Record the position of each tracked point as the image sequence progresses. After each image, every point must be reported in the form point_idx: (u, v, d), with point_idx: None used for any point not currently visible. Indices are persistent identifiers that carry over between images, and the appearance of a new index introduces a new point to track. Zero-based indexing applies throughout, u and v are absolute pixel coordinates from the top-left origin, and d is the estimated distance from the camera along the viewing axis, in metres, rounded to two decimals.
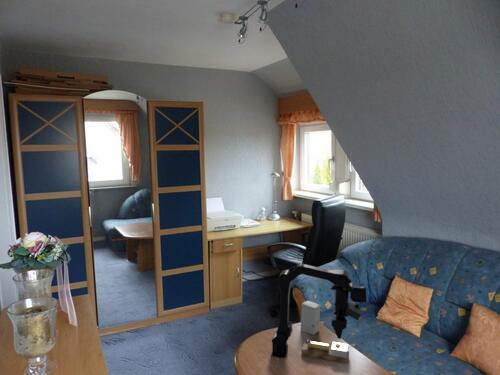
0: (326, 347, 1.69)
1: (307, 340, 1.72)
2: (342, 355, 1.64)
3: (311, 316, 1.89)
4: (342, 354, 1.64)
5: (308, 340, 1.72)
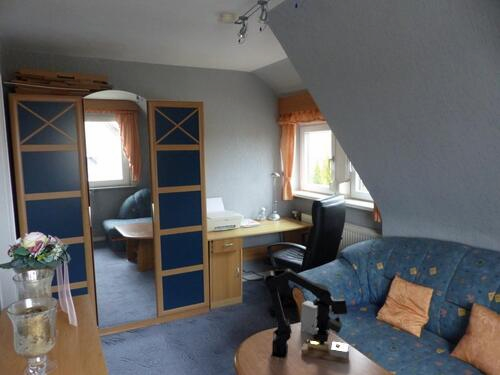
0: (326, 347, 1.69)
1: (307, 340, 1.72)
2: (342, 355, 1.64)
3: (311, 316, 1.89)
4: (342, 354, 1.64)
5: (308, 340, 1.72)
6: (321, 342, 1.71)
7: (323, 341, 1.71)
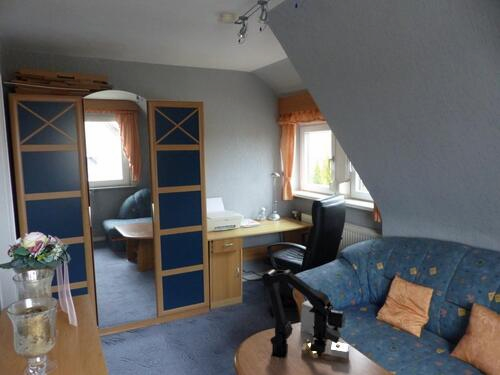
0: (312, 353, 1.64)
1: (307, 340, 1.72)
2: (342, 355, 1.64)
3: (311, 316, 1.89)
4: (342, 354, 1.64)
5: (307, 340, 1.72)
6: (318, 353, 1.62)
7: (320, 352, 1.61)
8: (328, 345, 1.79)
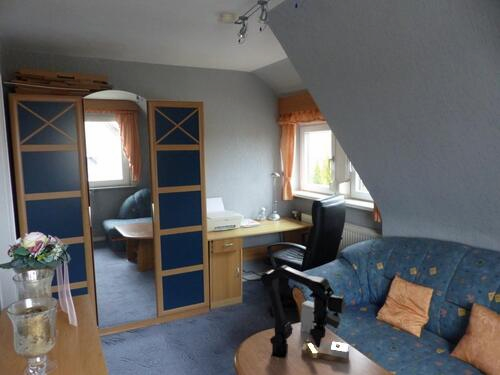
0: (312, 353, 1.64)
1: (307, 340, 1.72)
2: (342, 355, 1.64)
3: (311, 316, 1.89)
4: (342, 354, 1.64)
5: (307, 340, 1.72)
6: (317, 344, 1.56)
7: (319, 343, 1.55)
8: (328, 345, 1.79)
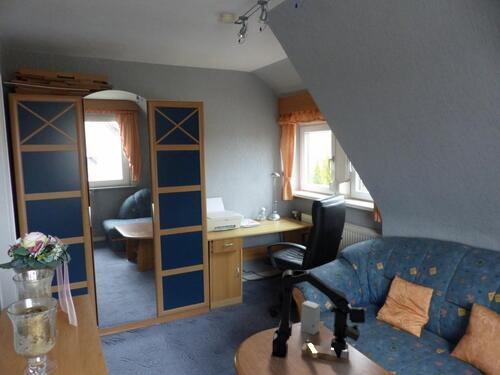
0: (312, 353, 1.64)
1: (307, 340, 1.72)
2: (342, 355, 1.64)
3: (311, 316, 1.89)
4: (342, 354, 1.64)
5: (307, 340, 1.72)
6: (337, 355, 1.64)
7: (340, 353, 1.63)
8: (328, 345, 1.79)
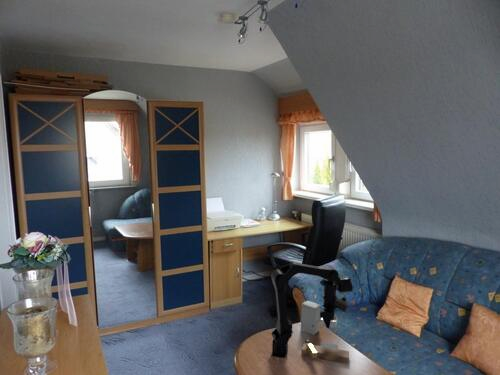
0: (312, 353, 1.64)
1: (307, 340, 1.72)
2: (331, 325, 1.72)
3: (311, 316, 1.89)
4: (331, 324, 1.72)
5: (307, 340, 1.72)
6: (326, 325, 1.72)
7: (328, 323, 1.72)
8: (328, 345, 1.79)
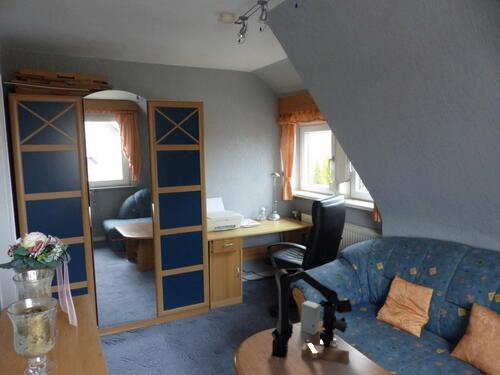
0: (312, 353, 1.64)
1: (307, 340, 1.72)
2: None
3: (311, 316, 1.89)
4: None
5: (307, 340, 1.72)
6: (326, 346, 1.73)
7: (328, 345, 1.72)
8: None
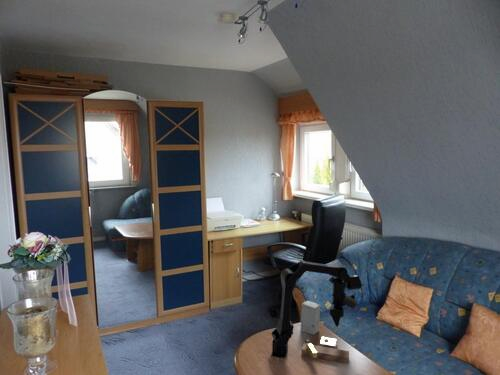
0: (312, 353, 1.64)
1: (307, 340, 1.72)
2: None
3: (311, 316, 1.89)
4: None
5: (307, 340, 1.72)
6: (336, 323, 1.72)
7: (338, 322, 1.72)
8: None
